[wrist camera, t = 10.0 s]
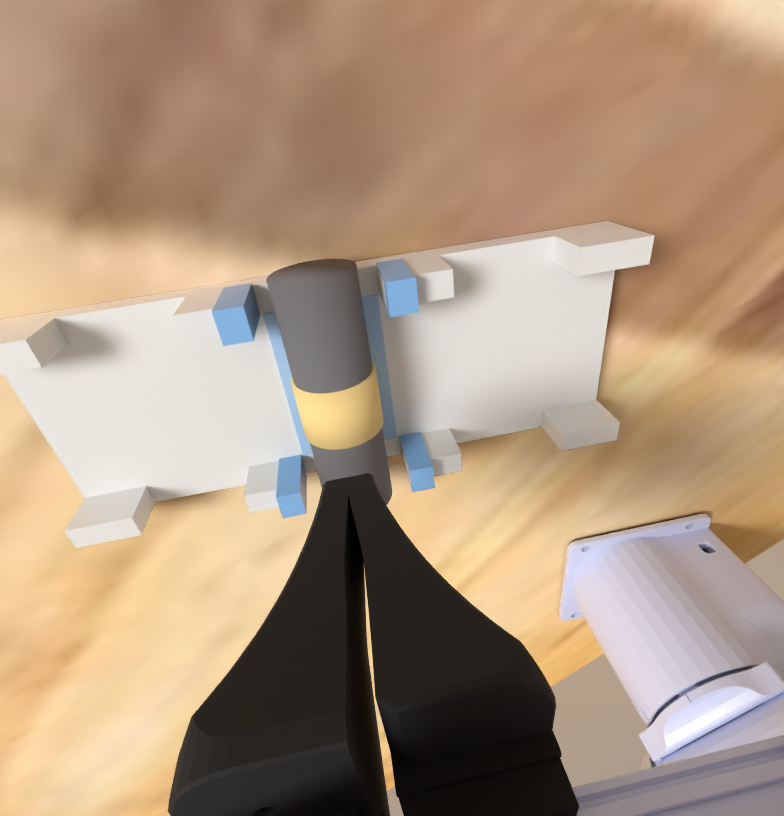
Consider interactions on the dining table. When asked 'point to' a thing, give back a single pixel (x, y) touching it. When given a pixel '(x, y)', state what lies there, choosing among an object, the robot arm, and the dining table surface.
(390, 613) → the robot arm
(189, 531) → the dining table surface
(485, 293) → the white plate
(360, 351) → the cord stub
